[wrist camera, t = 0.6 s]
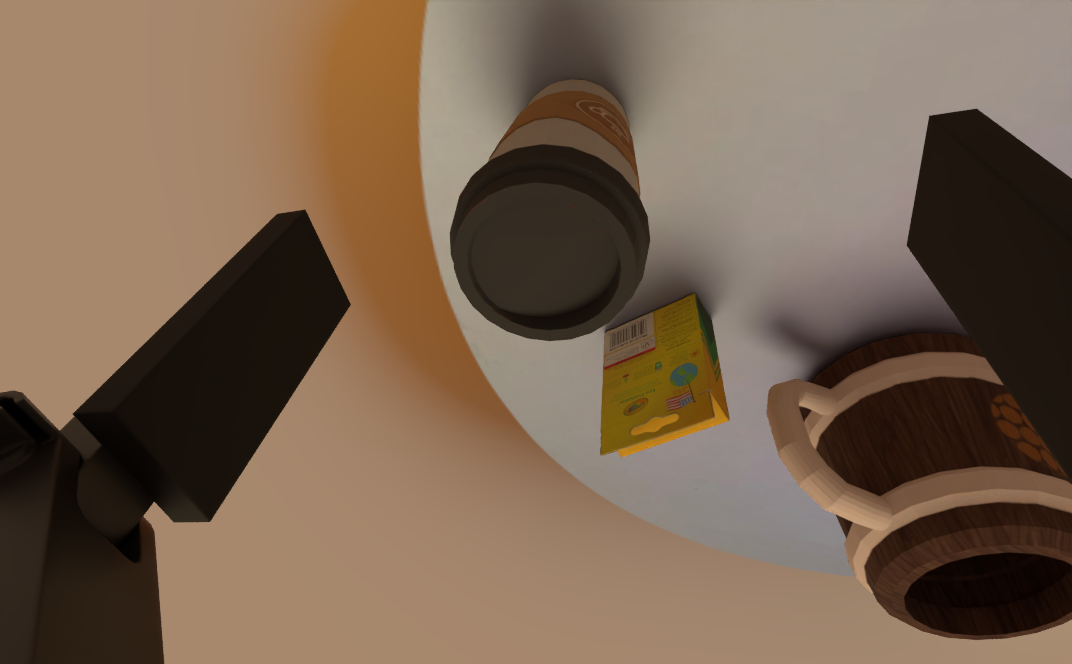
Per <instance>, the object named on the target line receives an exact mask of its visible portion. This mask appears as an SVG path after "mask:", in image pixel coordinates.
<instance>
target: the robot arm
mask: <svg viewBox="0 0 1072 664" xmlns="http://www.w3.org/2000/svg"><path fill="white" fill-rule="evenodd" d="M907 247H908V248H909V250H910V251H911V252H912V254H913V255H914V257H915V258H916V260H917V261H918V262H919V264H920V265H921V267H922V268H923V270H924V271H925V273H926V274H927V275H928V277H929V278H930V280H931V281H932V283H933V284H934V285H935V287H936V288H937V290H938V291H939V293H940V294H941V296H942V297H943V298H944V300H945V301H946V303H947V304H948V306H949V307H950V308H951V310H952V311H953V313H954V314H955V316H956V317H957V319H958V320H959V321H960V323H961V324H962V326H963V327H964V329H965V330H966V331H967V333H968V334H969V336H970V337H971V339H972V340H973V342H974V343H975V344H976V346H977V347H978V349H979V350H980V352H981V353H982V354H983V356H984V357H985V359H986V360H987V362H988V363H989V365H990V366H991V367H992V369H993V370H994V372H995V373H996V375H997V376H998V377H999V379H1000V380H1001V382H1002V383H1003V385H1004V386H1005V388H1006V389H1007V390H1008V392H1009V393H1010V395H1011V396H1012V398H1013V399H1014V400H1015V402H1016V403H1017V405H1018V406H1019V408H1020V409H1021V410H1022V412H1023V413H1024V415H1025V416H1026V418H1027V419H1028V421H1029V422H1030V423H1031V425H1032V426H1033V428H1034V429H1035V431H1036V432H1037V433H1038V435H1039V436H1040V438H1041V439H1042V441H1043V442H1044V444H1045V445H1046V446H1047V448H1048V449H1049V451H1050V452H1051V454H1052V455H1053V456H1054V458H1055V459H1056V461H1057V462H1058V464H1059V465H1060V467H1061V468H1062V469H1063V471H1064V472H1065V474H1066V475H1067V477H1068V478H1069V479H1070V481H1071V482H1072V178H1070V177H1069V176H1067V175H1066V174H1065V173H1063V172H1062V171H1061V170H1059V169H1058V168H1057V167H1055V166H1054V165H1053V164H1051V163H1050V162H1048V161H1047V160H1046V159H1044V158H1043V157H1042V156H1040V155H1039V154H1038V153H1036V152H1035V151H1033V150H1032V149H1031V148H1029V147H1028V146H1027V145H1025V144H1024V143H1023V142H1021V141H1020V140H1018V139H1017V138H1016V137H1014V136H1013V135H1012V134H1010V133H1009V132H1008V131H1006V130H1005V129H1004V128H1002V127H1001V126H999V125H998V124H997V123H995V122H994V121H993V120H991V119H990V118H989V117H987V116H986V115H984V114H983V113H982V112H980V111H979V110H978V109H972V110H965V111H958V112H952V113H945V114H938V115H932V116H929V121H928V127H927V132H926V138H925V144H924V150H923V155H922V161H921V167H920V172H919V178H918V184H917V190H916V195H915V201H914V207H913V212H912V218H911V224H910V230H909V235H908V241H907ZM350 305H351V304H350V302H349V300H348V298H347V296H346V294H345V292H344V289H343V287H342V285H341V283H340V281H339V279H338V277H337V275H336V273H335V271H334V269H333V267H332V264H331V262H330V260H329V258H328V256H327V254H326V252H325V250H324V248H323V246H322V244H321V241H320V239H319V237H318V235H317V233H316V231H315V229H314V227H313V225H312V223H311V221H310V219H309V217H308V214H307V212H306V210H301V211H294V212H287V213H281V214H277V215H276V216H275V217H274V218H273V219H271V220H270V221H269V222H268V224H266V225H265V226H264V227H263V228H262V229H261V230H260V231H259V232H258V233H257V234H256V235H255V236H254V237H253V238H252V239H251V240H250V241H249V242H248V243H247V244H246V245H245V246H244V247H243V248H242V249H241V250H240V251H239V252H238V253H237V254H236V255H235V256H234V257H233V258H232V259H231V260H230V261H229V262H228V263H227V264H225V266H223V267H222V268H221V269H220V271H218V272H217V273H216V274H215V275H214V276H213V277H212V278H211V279H210V280H209V281H208V282H207V283H206V284H205V285H204V286H203V287H202V288H201V289H200V290H199V291H198V292H197V293H196V294H195V295H194V296H193V297H192V298H191V299H190V300H189V301H188V302H187V303H186V304H185V305H184V306H183V307H182V308H181V309H180V310H178V312H176V313H175V314H174V315H173V317H171V318H170V319H169V320H168V321H167V322H166V323H165V324H164V325H163V326H162V327H161V328H160V329H159V330H158V331H157V332H156V333H155V334H154V335H153V336H152V337H151V338H150V339H149V340H148V341H147V342H146V343H145V344H144V345H143V346H142V347H141V348H140V349H139V350H138V351H137V352H135V353H134V354H133V356H131V358H129V359H128V360H127V361H126V362H125V363H124V364H123V365H122V366H121V367H120V368H119V369H118V370H117V371H116V372H115V373H114V374H113V375H112V376H111V377H110V378H109V379H108V380H107V381H106V382H105V383H104V384H103V385H102V386H101V387H100V388H99V389H98V390H97V391H96V392H95V393H94V394H93V395H92V396H90V397H89V399H87V400H86V401H85V402H84V403H83V404H82V406H80V407H79V408H78V409H77V410H76V411H75V412H74V413H73V415H74V416H75V417H74V418H73V419H71V420H70V421H69V423H68V424H66V425H65V426H64V427H63V428H62V430H60V431H59V430H58V429H57V428H56V427H55V426H54V425H53V424H52V423H51V422H50V421H49V420H48V419H47V418H46V417H45V415H44V414H43V413H42V412H41V411H40V410H39V409H38V408H37V407H36V406H35V405H34V404H33V403H32V402H31V401H30V400H29V399H27V397H26V396H25V395H24V394H23V393H21V392H17V391H9V392H2V393H0V664H164V654H163V641H162V628H161V615H160V602H159V588H158V574H157V561H156V547H155V534H154V530H153V528H152V526H151V524H150V523H149V522H148V521H147V520H146V519H145V518H144V517H143V516H144V514H145V513H146V512H147V510H148V509H149V508H150V506H151V505H152V504H153V502H155V503H156V504H157V505H158V506H159V507H160V508H161V509H162V510H163V511H164V512H165V513H166V514H167V515H168V516H169V518H170V519H171V520H172V521H173V522H210V521H211V520H212V518H213V516H214V515H215V513H216V511H217V510H218V509H219V507H220V505H221V504H222V503H223V501H224V499H225V498H226V496H227V495H228V493H229V491H230V490H231V489H232V487H233V486H234V484H235V482H236V481H237V479H238V478H239V476H240V475H241V473H242V472H243V470H244V469H245V467H246V466H247V464H248V462H249V461H250V459H251V458H252V456H253V455H254V453H255V452H256V450H257V449H258V447H259V445H260V444H261V442H262V441H263V439H264V438H265V436H266V434H267V433H268V432H269V430H270V428H271V427H272V425H273V424H274V422H275V421H276V419H277V418H278V416H279V415H280V413H281V412H282V410H283V408H284V407H285V405H286V404H287V402H288V401H289V399H290V398H291V396H292V394H293V393H294V391H295V390H296V388H297V387H298V385H299V384H300V382H301V380H302V379H303V378H304V376H305V374H306V373H307V371H308V370H309V368H310V367H311V365H312V364H313V362H314V361H315V359H316V357H317V356H318V354H319V353H320V351H321V349H322V348H323V347H324V345H325V344H326V342H327V341H328V339H329V337H330V336H331V334H332V333H333V331H334V330H335V328H336V327H337V325H338V324H339V322H340V320H341V319H342V317H343V316H344V314H345V313H346V311H347V310H348V308H349V307H350Z"/></svg>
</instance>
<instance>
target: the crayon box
mask: <svg viewBox="0 0 1072 664" xmlns="http://www.w3.org/2000/svg"><path fill="white" fill-rule="evenodd" d="M729 419H730V418H729V413H728V407H727V402H726V397H725V392H724V387H723V381H722V375H721V369H720V364H719V358H718V353H717V347H716V341H715V335H714V330H713V324H712V320H711V319H710V317H709V316H708V314H707V312H706V310H705V309H704V307H703V306H702V304H701V302H700V301H699V299H698V298H697V296H696V295H695V294H694V293H692V294H690V295H688V296H686V297H685V298H684V299H682V300H679V301H677V302H674V303H672V304H670V305H667V306H665V307H663V308H660V309H658V310H656V311H653V312H651V313H649V314H646V315H644V316H642V317H639V318H637V319H635V320H633V321H630V322H628V323H626V324H624V325H622V326H619V327H617V328H615V329H613V330H608V331H606V332H605V335H604V364H603V388H602V409H601V449H600V455H601V456H603V455H606V454H609V453H612V452H615V451H617V452H618V453H619V454H620V456H621V457H624V456H627V455H630V454H633V453H636V452H639V451H642V450H644V449H647V448H650V447H653V446H656V445H659V444H662V443H665V442H668V441H671V440H674V439H677V438H680V437H683V436H686V435H688V434H691V433H694V432H697V431H700V430H703V429H706V428H709V427H712V426H715V425H718V424H721V423H724V422H727V421H729Z"/></svg>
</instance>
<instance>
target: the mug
mask: <svg viewBox="0 0 1072 664" xmlns="http://www.w3.org/2000/svg"><path fill="white" fill-rule="evenodd" d="M767 417H768V420H769V424H770V427H771V431H772V434H773V437H774V441H775V444H776V447H777V451H778V454H779V457H780V459H781V460H782V461H783V463H784V464H785V466H786V467H787V469H788V470H789V472H790V473H791V474H792V476H793V477H794V479H795V480H796V482H797V483H798V485H799V486H800V487H801V488H802V489H803V490H804V491H805V492H806V493H807V494H809V495H810V496H811V497H812V498H813V499H814V500H815V501H816V502H817V503H818V504H819V505H820V506H821V507H822V508H823V509H825V510H827V511H829V512H832V513H834V514H836V516H837V518H838V521H839V523H840V525H841V527H842V530H843V532H844V534H845V536H846V541H845V549H846V553H847V558H848V562H849V564H850V566H851V568H852V570H853V572H854V574H855V576H856V578H857V579H858V580H859V581H860V582H861V583H862V584H863V585H864V586H865V588H867V590H868V591H869V592H870V593H872V594H874V596H875V598H876V600H877V601H878V602H879V604H880V605H881V606H882V607H883V608H884V609H885V610H886V611H887V612H888V613H889V615H891V616H893V617H895V618H897V619H899V620H901V621H903V622H905V623H907V624H909V625H911V626H913V627H915V628H917V629H919V630H921V631H923V632H928V633H931V634H935V635H939V636H943V637H948V638H959V639H972V640H982V639H1003V638H1011V637H1016V636H1022V635H1027V634H1032V633H1037V632H1040V631H1043V630H1046V629H1049V628H1052V627H1055V626H1058V625H1061V624H1064V623H1065V622H1068V621H1069V620H1071V619H1072V482H1071V481H1070V479H1069V478H1068V477H1067V475H1066V474H1065V472H1064V471H1063V469H1062V468H1061V467H1060V465H1059V464H1058V462H1057V461H1056V459H1055V458H1054V456H1053V455H1052V454H1051V452H1050V451H1049V449H1048V448H1047V446H1046V445H1045V444H1044V442H1043V441H1042V439H1041V438H1040V436H1039V435H1038V433H1037V432H1036V431H1035V429H1034V428H1033V426H1032V425H1031V423H1030V422H1029V421H1028V419H1027V418H1026V416H1025V415H1024V413H1023V412H1022V410H1021V409H1020V408H1019V406H1018V405H1017V403H1016V402H1015V400H1014V399H1013V398H1012V396H1011V395H1010V393H1009V392H1008V390H1007V389H1006V388H1005V386H1004V385H1003V383H1002V382H1001V380H1000V379H999V377H998V376H997V375H996V373H995V372H994V370H993V369H992V367H991V366H990V365H989V363H988V362H987V360H986V359H985V357H984V356H983V354H982V353H981V352H980V350H979V349H978V347H977V346H976V344H975V343H974V342H973V340H972V339H971V338H968V337H965V336H961V335H957V334H953V333H913V334H909V335H904V336H899V337H894V338H889V339H884V340H880V341H876V342H873V343H871V344H869V345H867V346H864V347H862V348H860V349H857V350H855V351H853V352H850V353H848V354H846V355H844V356H842V357H841V358H840V359H838V360H837V361H836V362H834V363H833V364H832V365H830V366H829V367H828V368H826V369H825V370H824V371H822V372H821V373H820V374H818V375H817V376H816V378H815V379H814V380H813V382H812V383H809V382H806V381H802V380H799V379H794V380H791V381H787V382H783V383H779V384H776V385H774V386H772V387H771V388H770V390H769V394H768V404H767Z"/></svg>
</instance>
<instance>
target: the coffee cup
mask: <svg viewBox="0 0 1072 664" xmlns="http://www.w3.org/2000/svg"><path fill="white" fill-rule="evenodd" d="M649 244H650V234H649V225H648V216H647V214H646V212H645V209H644V207H643V205H642V202H641V200H640V187H639V177H638V171H637V165H636V158H635V152H634V146H633V140H632V136H631V133H630V129H629V123H628V119H627V117H626V114H625V112H624V109H623V107H622V106H621V105H620V103H619V102H618V101H617V99H616V98H615V97H614V96H613V95H612V94H611V93H610V92H608V91H607V90H606V89H604V88H603V87H602V86H599V85H597V84H594V83H592V82H589V81H586V80H575V79H570V80H565V81H559V82H556V83H554V84H552V85H550V86H548V87H546V88H544V89H542V90H541V91H540V92H539V93H538V94H537V95H536V96H535V97H533V98H532V100H531V101H530V103H529V104H528V105H527V107H526V108H525V109H524V110H523V111H522V112H521V113H520V114H519V115H518V117H517V118H516V120H515V121H514V122H513V124H512V125H511V126H510V128H509V129H508V131H507V132H506V133H505V135H504V136H503V138H502V139H501V140H500V142H499V144H498V145H497V147H496V148H495V150H494V151H493V153H492V155H491V156H490V158H489V161H488V163H486V164H485V165H484V166H483V167H482V168H481V169H479V170H478V171H477V172H476V173H475V174H474V175H473V176H472V177H471V178H470V180H469V182H468V183H467V185H466V186H465V188H464V190H463V191H462V193H461V194H460V196H459V200H458V203H457V207H456V211H455V215H454V219H453V223H452V226H451V230H450V245H451V257H452V259H453V262H454V270H455V273H456V276H457V279H458V282H459V285H460V288H461V289H462V291H463V292H464V294H465V295H466V297H467V298H468V300H469V301H470V303H471V304H472V306H473V307H474V308H475V309H476V310H478V311H479V312H480V313H481V314H482V315H483V316H484V317H485V318H486V319H487V320H488V321H490V322H492V323H494V324H495V325H497V326H499V327H500V328H502V329H504V330H506V331H508V332H510V333H513V334H516V335H519V336H522V337H525V338H529V339H538V340H546V341H555V340H567V339H573V338H576V337H580V336H583V335H586V334H589V333H592V332H594V331H595V330H597V329H599V328H600V327H602V326H604V325H605V324H607V323H609V322H610V321H611V320H612V319H613V318H614V317H615V316H616V315H617V314H618V313H619V312H620V311H621V310H622V309H623V308H624V306H625V304H626V303H627V302H628V301H629V300H630V298H631V297H632V296H633V295H634V293H635V291H636V289H637V287H638V285H639V283H640V281H641V280H642V278H643V274H644V269H645V263H646V259H647V254H648V249H649Z"/></svg>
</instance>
